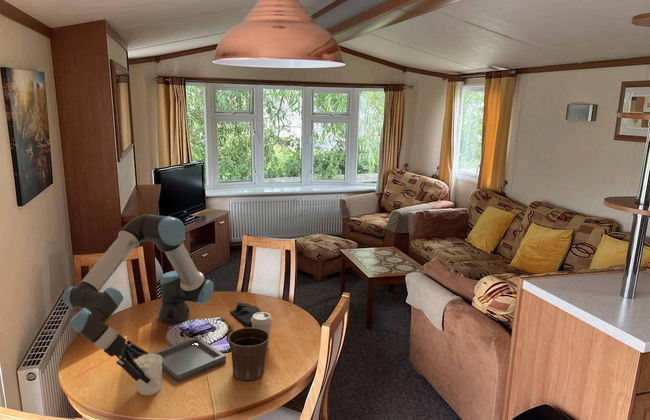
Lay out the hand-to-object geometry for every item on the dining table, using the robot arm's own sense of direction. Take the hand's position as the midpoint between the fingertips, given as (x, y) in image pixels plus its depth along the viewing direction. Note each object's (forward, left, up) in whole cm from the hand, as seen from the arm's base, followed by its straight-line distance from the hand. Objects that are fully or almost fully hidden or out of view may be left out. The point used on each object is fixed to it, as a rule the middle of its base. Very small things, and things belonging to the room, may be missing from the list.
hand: (158, 378), depth 180 cm
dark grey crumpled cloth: (-27, +63, -5) cm, 69 cm away
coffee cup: (+1, +48, -5) cm, 49 cm away
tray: (-10, +18, -4) cm, 21 cm away
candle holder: (-2, -3, -5) cm, 6 cm away
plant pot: (+14, +31, -5) cm, 35 cm away
